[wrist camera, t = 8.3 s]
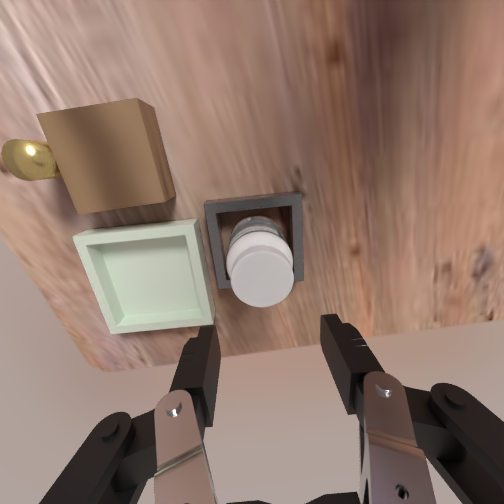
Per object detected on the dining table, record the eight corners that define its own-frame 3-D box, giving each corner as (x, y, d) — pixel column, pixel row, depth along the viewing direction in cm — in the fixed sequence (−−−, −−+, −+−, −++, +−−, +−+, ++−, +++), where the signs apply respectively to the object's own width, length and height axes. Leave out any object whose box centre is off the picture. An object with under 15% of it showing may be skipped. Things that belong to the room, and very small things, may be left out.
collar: (297, 191, 25) (301, 193, 23) (299, 272, 28) (303, 280, 27) (206, 200, 25) (203, 204, 23) (220, 280, 29) (218, 289, 27)
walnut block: (155, 108, 22) (136, 98, 18) (177, 195, 25) (165, 201, 21) (71, 121, 22) (36, 114, 19) (102, 206, 25) (78, 214, 22)
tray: (198, 218, 26) (193, 224, 23) (215, 311, 30) (212, 324, 28) (87, 229, 26) (72, 236, 23) (121, 320, 30) (110, 334, 28)
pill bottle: (279, 262, 28) (296, 315, 19) (230, 261, 28) (223, 314, 18) (283, 214, 26) (305, 246, 17) (231, 212, 26) (222, 243, 16)
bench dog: (76, 141, 23) (33, 137, 18) (87, 174, 24) (49, 178, 19) (45, 144, 23) (-6, 141, 18) (58, 177, 24) (12, 182, 19)
